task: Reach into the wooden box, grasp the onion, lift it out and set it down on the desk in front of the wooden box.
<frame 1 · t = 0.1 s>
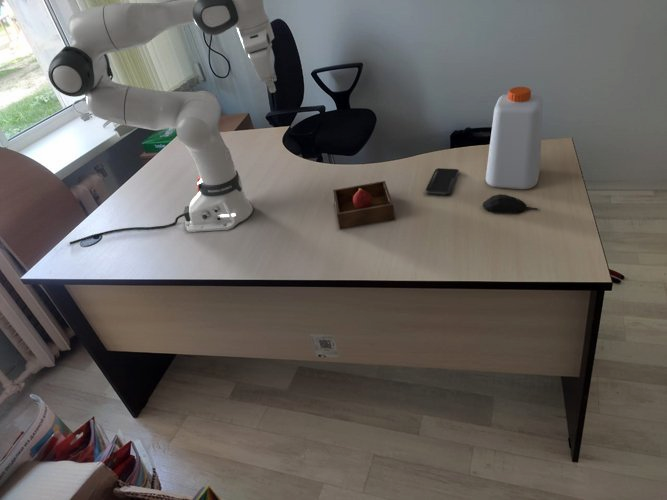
hand: (273, 86, 135), 39 cm above the table, tool pointing down, fingers open, 8 cm apart
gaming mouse: (509, 208, 137), on the table
phone: (442, 183, 154), on the table
plastic bottle: (512, 178, 150), on the table
wooden box: (363, 211, 148), on the table
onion: (363, 211, 147), resting on wooden box
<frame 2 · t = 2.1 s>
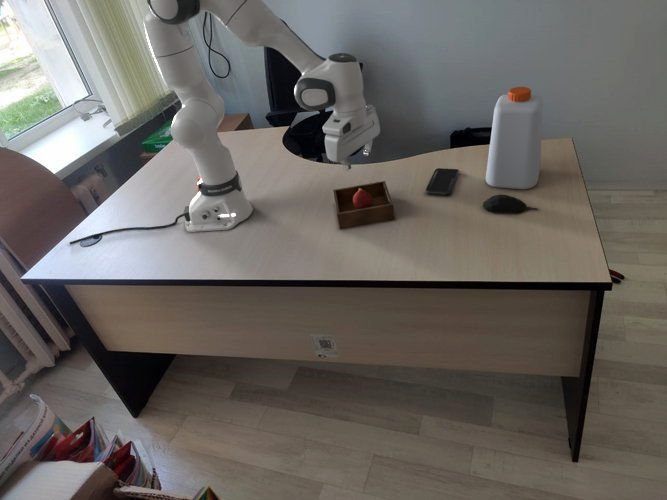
hand: (357, 162, 137), 17 cm above the table, tool pointing down, fingers open, 8 cm apart
nothing on the table moved.
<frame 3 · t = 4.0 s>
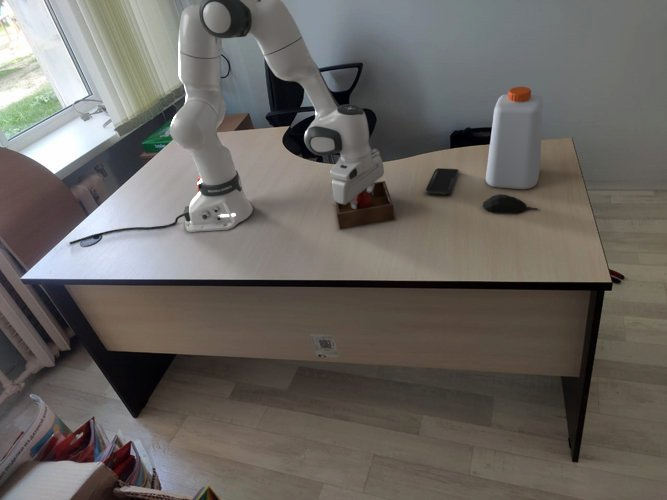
hand: (362, 201, 145), 4 cm above the table, tool pointing down, fingers closed on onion, 6 cm apart
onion: (363, 211, 147), resting on wooden box, touching gripper
everything else where it was.
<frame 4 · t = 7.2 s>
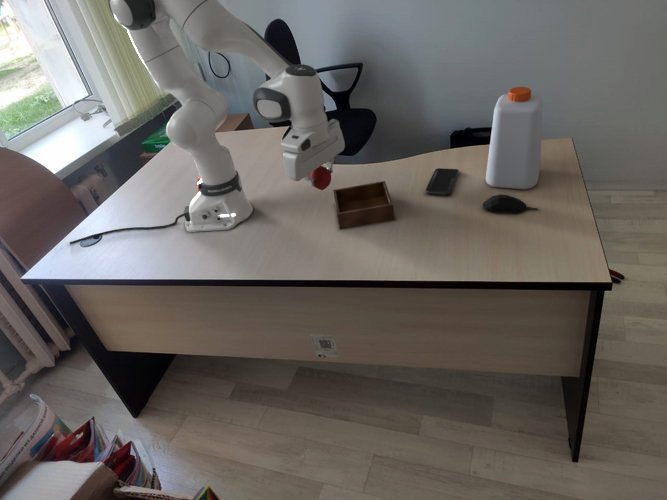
hand: (320, 179, 129), 19 cm above the table, tool pointing down, fingers closed on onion, 6 cm apart
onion: (322, 190, 131), point 15 cm above the table, touching gripper
everything else where it was.
when the fingers open (3 cm above the table, at t = 10.6 s): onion stays where it is, on the table.
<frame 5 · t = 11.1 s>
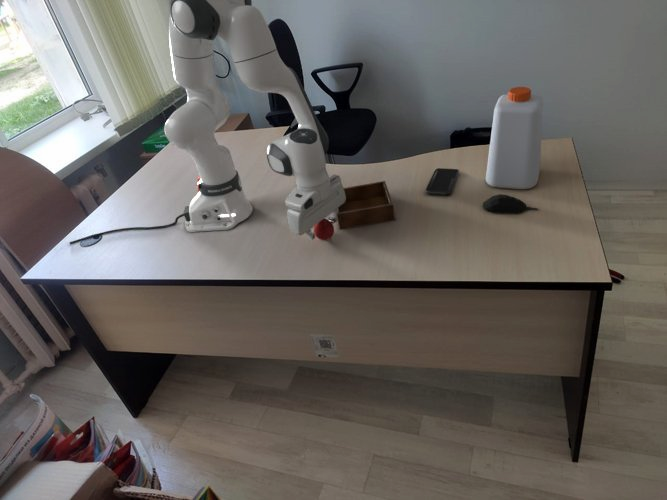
hand: (322, 230, 137), 4 cm above the table, tool pointing down, fingers open, 8 cm apart
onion: (325, 240, 139), on the table
everything else where it was.
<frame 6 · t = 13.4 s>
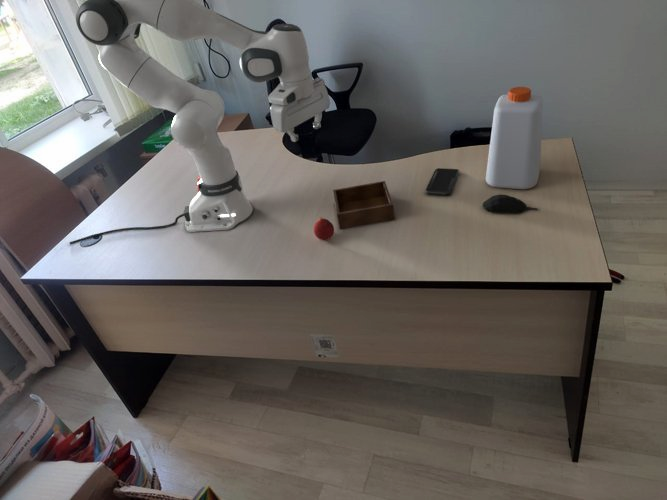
hand: (306, 134, 139), 25 cm above the table, tool pointing down, fingers open, 8 cm apart
nothing on the table moved.
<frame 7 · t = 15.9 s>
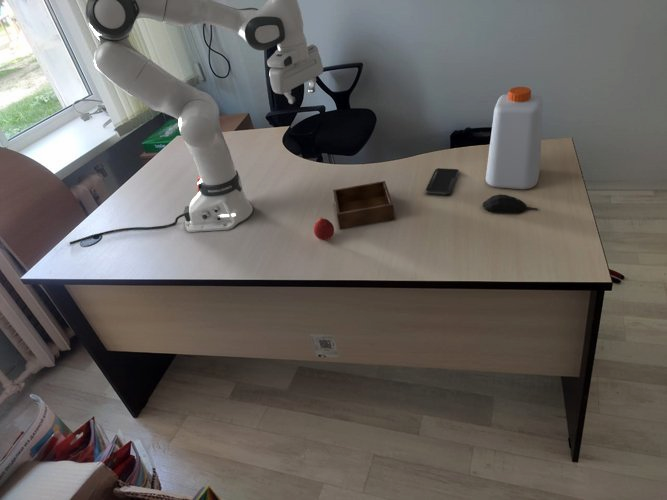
hand: (302, 97, 153), 29 cm above the table, tool pointing down, fingers open, 8 cm apart
nothing on the table moved.
at the end: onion inside the target area (0.2 cm from its centre), on the table; the gripper is holding nothing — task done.
